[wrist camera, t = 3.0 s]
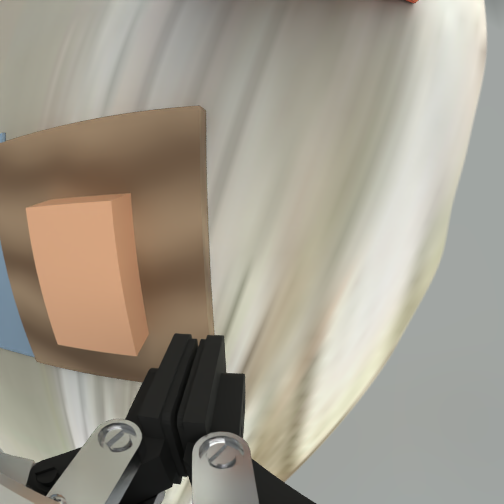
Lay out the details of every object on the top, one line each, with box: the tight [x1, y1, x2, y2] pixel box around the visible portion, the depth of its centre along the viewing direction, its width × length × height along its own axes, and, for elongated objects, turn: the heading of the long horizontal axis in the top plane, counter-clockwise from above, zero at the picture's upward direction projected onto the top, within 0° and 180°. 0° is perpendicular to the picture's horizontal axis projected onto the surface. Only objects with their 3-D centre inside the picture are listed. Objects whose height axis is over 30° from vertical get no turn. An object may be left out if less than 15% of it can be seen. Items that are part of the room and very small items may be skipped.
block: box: [26, 193, 149, 356], centre depth 16 cm, size 9×6×2 cm, turn 0°
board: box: [0, 106, 214, 382], centre depth 18 cm, size 18×16×2 cm
